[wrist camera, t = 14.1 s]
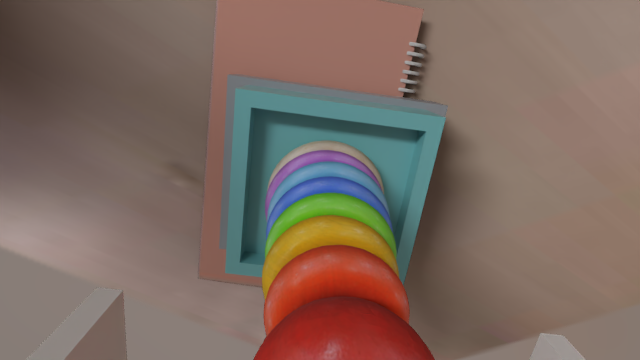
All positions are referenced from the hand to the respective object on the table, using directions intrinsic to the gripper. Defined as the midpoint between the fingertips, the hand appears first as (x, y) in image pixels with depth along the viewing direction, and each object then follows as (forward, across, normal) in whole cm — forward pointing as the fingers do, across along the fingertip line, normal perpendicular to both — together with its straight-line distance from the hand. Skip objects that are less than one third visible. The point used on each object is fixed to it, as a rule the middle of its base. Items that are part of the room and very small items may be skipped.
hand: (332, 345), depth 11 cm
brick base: (+20, 0, 0) cm, 20 cm away
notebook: (+22, -2, 0) cm, 22 cm away
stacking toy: (+14, 0, 0) cm, 14 cm away
